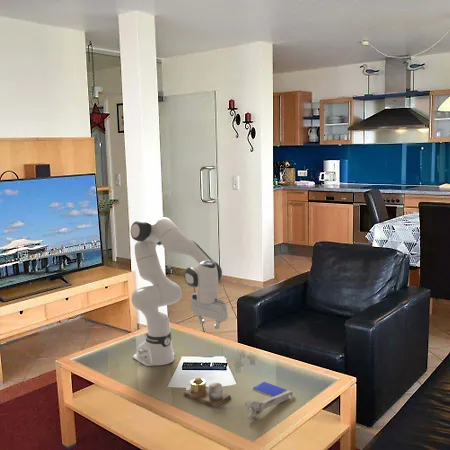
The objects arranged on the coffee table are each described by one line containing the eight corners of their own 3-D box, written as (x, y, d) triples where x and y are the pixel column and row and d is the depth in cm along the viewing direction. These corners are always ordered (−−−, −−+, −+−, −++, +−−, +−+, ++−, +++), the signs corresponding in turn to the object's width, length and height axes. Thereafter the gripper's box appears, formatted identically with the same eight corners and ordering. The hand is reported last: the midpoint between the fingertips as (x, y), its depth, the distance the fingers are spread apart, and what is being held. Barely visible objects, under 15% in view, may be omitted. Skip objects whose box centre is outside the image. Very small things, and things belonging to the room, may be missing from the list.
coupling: (188, 390, 236) (187, 382, 235) (198, 385, 240) (197, 377, 240) (198, 395, 232) (198, 386, 231) (208, 389, 236) (208, 381, 236)
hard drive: (252, 387, 238) (275, 395, 230) (264, 381, 244) (286, 389, 235) (252, 390, 238) (275, 399, 230) (264, 384, 244) (286, 392, 236)
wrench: (292, 403, 231) (246, 424, 209) (289, 402, 232) (243, 422, 210) (293, 385, 230) (247, 403, 208) (290, 384, 231) (244, 402, 209)
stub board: (184, 395, 235) (183, 381, 234) (199, 386, 242) (199, 373, 241) (214, 407, 223) (214, 392, 222) (230, 398, 231) (230, 384, 230)
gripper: (230, 299, 241) (231, 329, 243) (198, 291, 254) (198, 319, 257) (220, 303, 236) (221, 333, 239) (188, 294, 250) (189, 322, 252)
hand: (209, 326), depth 248 cm, fingers open, 8 cm apart
